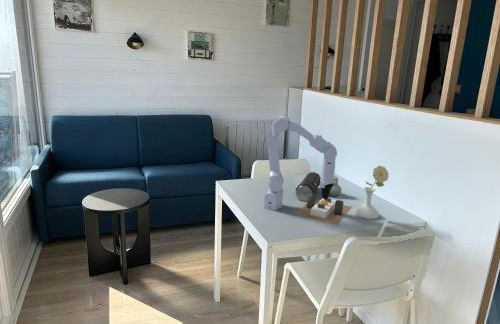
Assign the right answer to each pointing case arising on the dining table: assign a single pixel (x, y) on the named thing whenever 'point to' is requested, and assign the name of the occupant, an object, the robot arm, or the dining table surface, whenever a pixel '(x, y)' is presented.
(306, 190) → the muzzle brake
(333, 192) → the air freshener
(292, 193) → the dining table surface
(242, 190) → the dining table surface
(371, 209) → the flower in vase
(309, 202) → the post
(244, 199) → the dining table surface
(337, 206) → the post
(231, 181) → the dining table surface
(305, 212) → the breaker panel
